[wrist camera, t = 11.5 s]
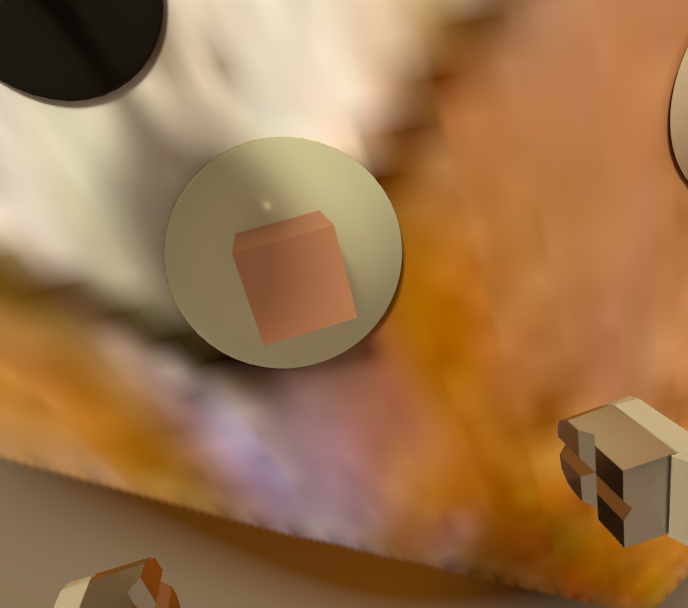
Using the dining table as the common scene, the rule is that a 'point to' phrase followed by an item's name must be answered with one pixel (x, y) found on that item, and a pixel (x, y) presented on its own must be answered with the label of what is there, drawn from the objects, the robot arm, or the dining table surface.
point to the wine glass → (75, 45)
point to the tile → (270, 207)
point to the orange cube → (294, 276)
